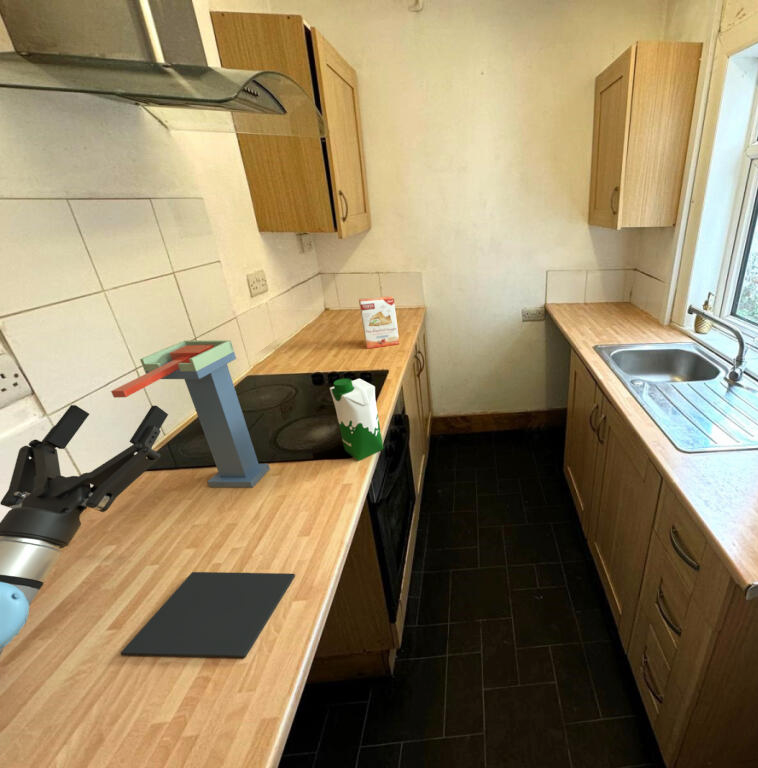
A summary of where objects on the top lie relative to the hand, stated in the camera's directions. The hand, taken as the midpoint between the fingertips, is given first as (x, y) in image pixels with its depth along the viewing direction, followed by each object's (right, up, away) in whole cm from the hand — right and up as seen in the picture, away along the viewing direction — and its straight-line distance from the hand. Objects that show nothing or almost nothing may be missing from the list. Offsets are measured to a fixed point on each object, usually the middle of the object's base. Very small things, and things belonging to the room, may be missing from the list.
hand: (120, 409), depth 68 cm
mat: (+18, -32, -3) cm, 36 cm away
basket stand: (+1, -19, +27) cm, 33 cm away
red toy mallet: (0, +6, +9) cm, 11 cm away
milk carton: (+26, -13, +39) cm, 49 cm away
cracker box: (+7, +21, +116) cm, 118 cm away
